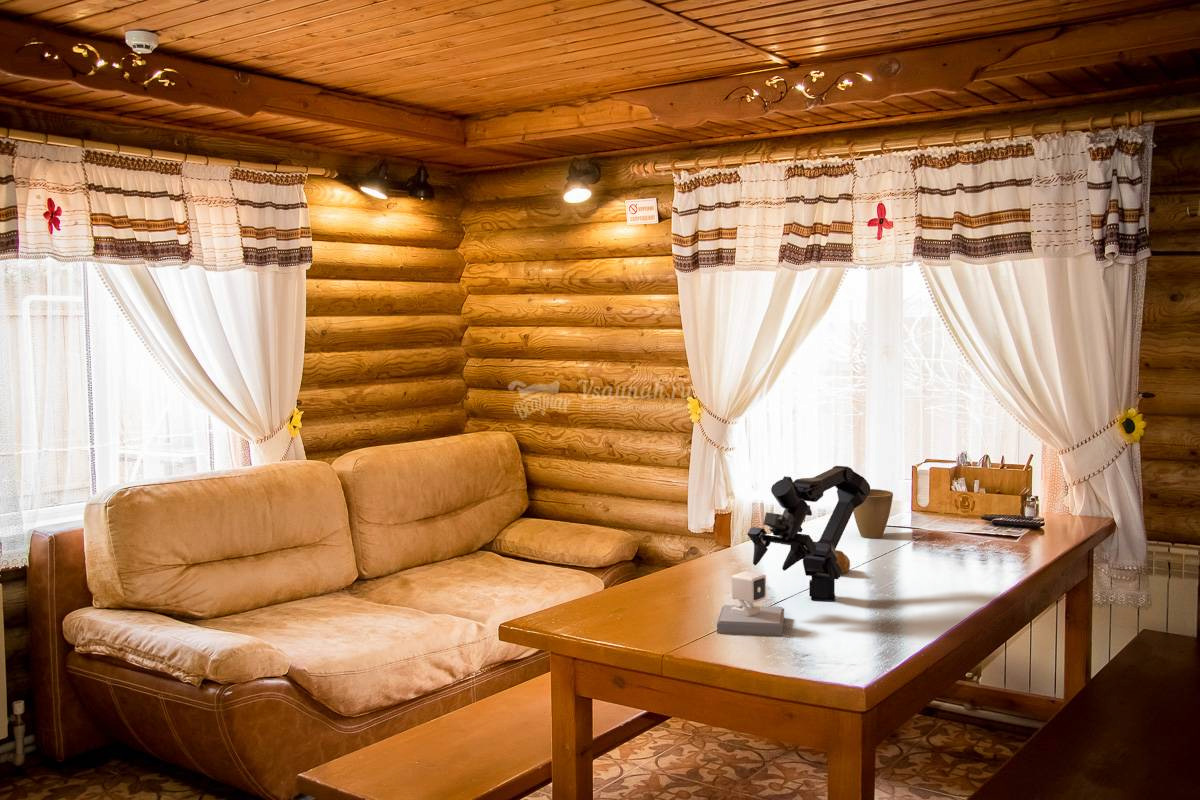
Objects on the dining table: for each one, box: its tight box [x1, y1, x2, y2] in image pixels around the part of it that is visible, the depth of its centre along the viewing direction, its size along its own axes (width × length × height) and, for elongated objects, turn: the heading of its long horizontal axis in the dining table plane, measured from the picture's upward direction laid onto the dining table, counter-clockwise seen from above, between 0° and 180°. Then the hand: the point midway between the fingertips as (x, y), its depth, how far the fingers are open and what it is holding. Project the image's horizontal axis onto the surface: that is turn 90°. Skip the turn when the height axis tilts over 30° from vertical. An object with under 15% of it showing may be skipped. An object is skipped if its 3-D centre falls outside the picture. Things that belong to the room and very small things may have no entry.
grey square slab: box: [716, 604, 785, 637], centre depth 269 cm, size 16×16×3 cm
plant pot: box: [852, 488, 894, 539], centre depth 374 cm, size 15×15×16 cm
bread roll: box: [835, 549, 851, 575], centre depth 324 cm, size 13×10×8 cm
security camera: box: [731, 570, 767, 616], centre depth 269 cm, size 6×7×10 cm
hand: (768, 567), depth 274 cm, fingers open, 9 cm apart
